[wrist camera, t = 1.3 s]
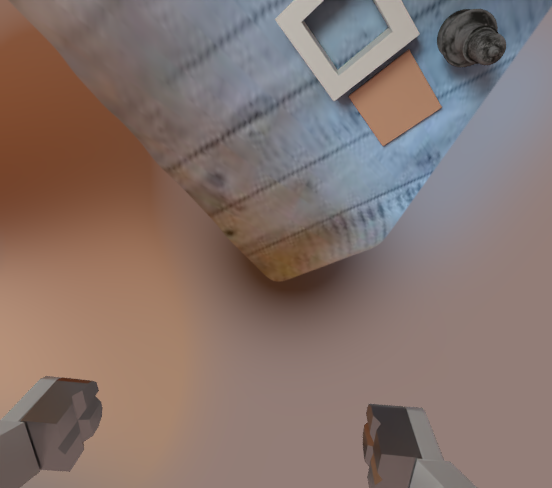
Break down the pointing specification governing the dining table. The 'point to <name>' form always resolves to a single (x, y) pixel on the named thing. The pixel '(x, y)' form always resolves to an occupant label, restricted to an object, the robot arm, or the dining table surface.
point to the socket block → (363, 61)
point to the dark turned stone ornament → (470, 38)
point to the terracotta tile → (395, 99)
